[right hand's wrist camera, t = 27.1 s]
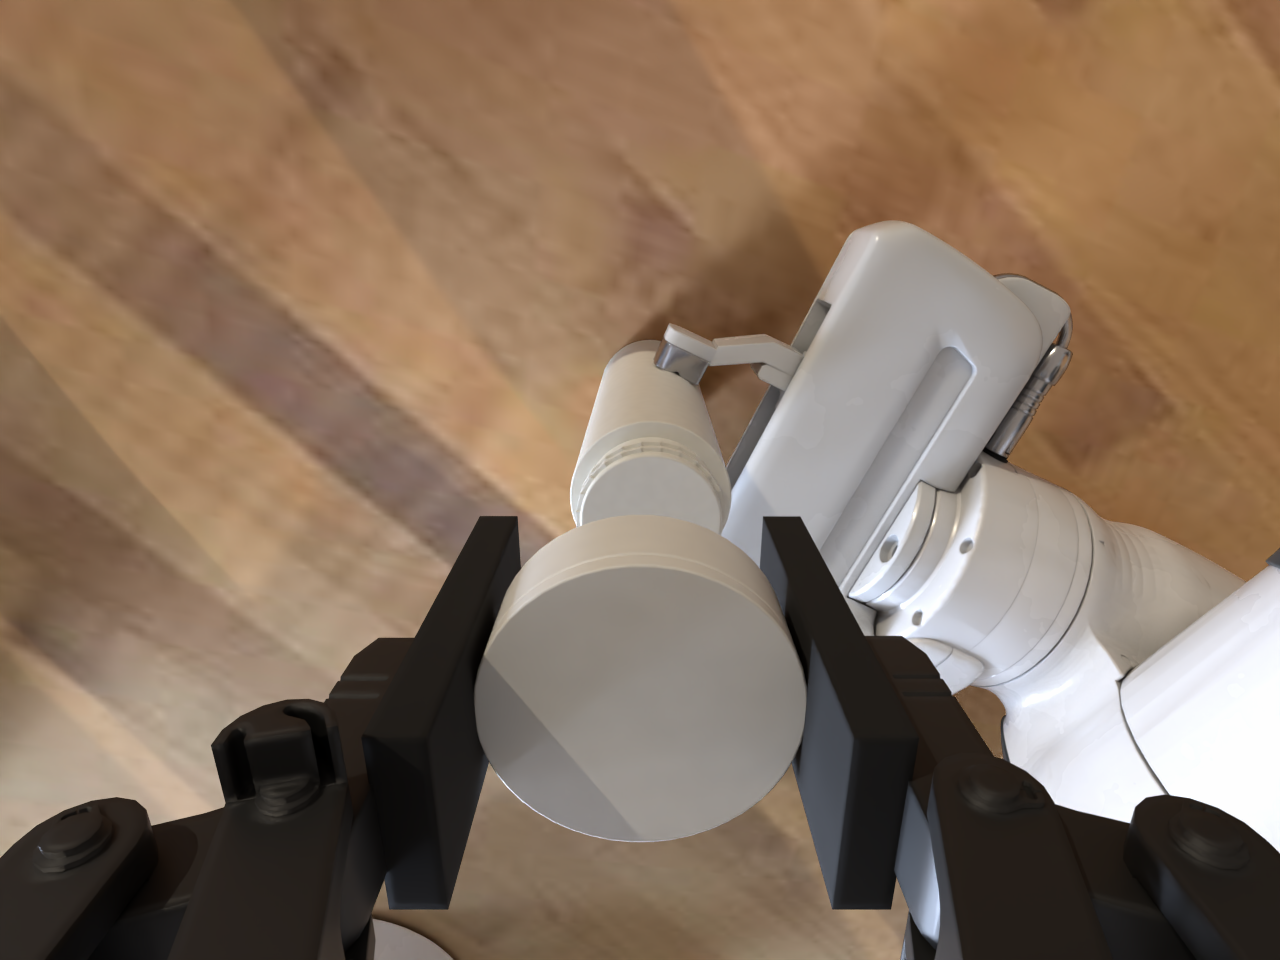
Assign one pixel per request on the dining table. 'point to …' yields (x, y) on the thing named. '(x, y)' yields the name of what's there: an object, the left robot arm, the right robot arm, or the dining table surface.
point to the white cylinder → (650, 448)
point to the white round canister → (640, 681)
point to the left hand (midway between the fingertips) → (627, 413)
